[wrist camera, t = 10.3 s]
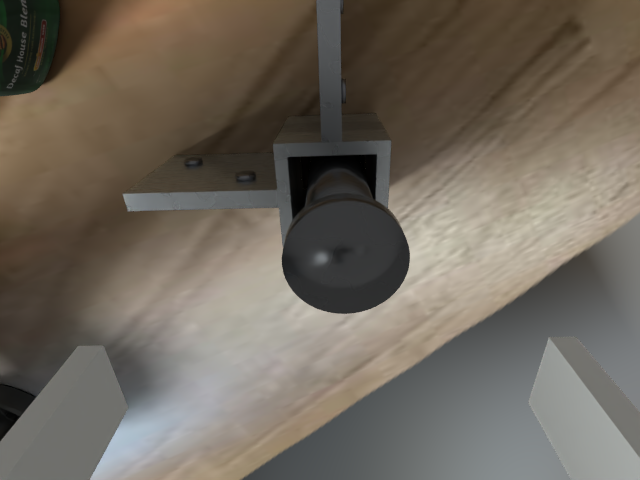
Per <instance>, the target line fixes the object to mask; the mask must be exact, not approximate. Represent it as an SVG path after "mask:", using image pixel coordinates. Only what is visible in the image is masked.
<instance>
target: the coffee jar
mask: <svg viewBox="0 0 640 480" xmlns="http://www.w3.org/2000/svg"><path fill="white" fill-rule="evenodd" d="M59 22H60V7H59V2H58V0H0V96H9V95H19V94H25V93H30V92H33V91H35V90H37V89H38V88H39V87H40V86H41V85H42V84H43V82H44V80H45V78H46V76H47V74H48V71H49V69H50V66H51V63H52V59H53V56H54V52H55V48H56V44H57V38H58V30H59Z"/></svg>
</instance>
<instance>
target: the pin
mask: <svg viewBox="0 0 640 480" xmlns="http://www.w3.org/2000/svg"><path fill="white" fill-rule="evenodd" d="M409 261H410V253H409V246H408V243H407V240H406V237H405V235H404V233H403V230H402V228H401V226H400V224H399V222H398V220H397V219H396V217H395V216H394V214H393V213H392V212H391V211H390V210H389V209H388V208H387V207H385V206H384V205H383V204H381V203H380V202H378V201H376V200H374V199H373V198H372V195H371V192H370V189H369V186H368V183H367V180H366V177H365V174H364V171H363V168H362V165H361V162H360V159H359V156H358V155H331V156H310V163H309V174H308V184H307V194H306V205H305V207H304V208H303V209H302V210H301V211H300V212H299V213H298V214H297V215H296V217H295V218H294V219H293V221H292V222H291V224H290V226H289V228H288V230H287V233H286V237H285V242H284V247H283V254H282V267H283V272H284V275H285V278H286V280H287V282H288V284H289V286H290V287H291V289H292V290H293V291H294V293H295V294H296V295H297V296H298V297H299V298H301V299H302V300H303V301H304V302H306V303H308V304H309V305H311V306H313V307H315V308H317V309H320V310H323V311H327V312H331V313H342V314H347V313H356V312H362V311H365V310H368V309H371V308H373V307H376V306H377V305H379V304H381V303H383V302H384V301H386V300H387V299H388V298H390V297H391V296H392V295H393V294H394V293H395V292H396V291H397V289H398V288H399V287H400V286H401V284H402V282H403V281H404V279H405V277H406V274H407V271H408V268H409Z"/></svg>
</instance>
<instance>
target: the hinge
mask: <svg viewBox="0 0 640 480" xmlns="http://www.w3.org/2000/svg"><path fill="white" fill-rule="evenodd" d="M316 3H317V30H318V58H319V86H320V114H321V115H314V116H288V118H287V120H286V122H285V123H284V125H283V127H282V129H281V130H280V132H279V134H278V136H277V137H276V139H275V141H274V143H273V151H274V153H244V154H211V155H177V156H173V157H172V158H170V159H169V160H168V161H166V162H165V163H164V164H162V165H161V166H160V167H158V168H157V169H156V170H154V171H153V172H152V173H150V174H149V175H147V176H146V177H145V178H143V179H142V180H141V181H139V182H138V183H137V184H135V185H134V186H133V187H131V188H130V189H129V190H127V191H126V192H125V193H123V197H124V200H125V203H126V207H127V210H128V211H152V210H194V209H236V208H278V207H279V213H280V223H281V234H282V244H283V247H284V242H285V237H286V233H287V230H288V228H289V226H290V224H291V222H292V221H293V219H294V218H295V217H296V215H297V214H298V213H299V212H300V211H301V210H302V209H303V208H304V207H305V205H306V194H307V189H303V183H302V167H301V156H331V155H365V177H366V180H367V183H368V186H369V189H370V192H371V195H372V198H373V199H374V200H376V201H378V202H380V203H381V204H383V205H384V206H385V207H387V208H388V196H389V176H390V156H391V139H390V137H389V135H388V134H387V132H386V130H385V128H384V127H383V125H382V123H381V122H380V120H379V118H378V116H377V115H376V113H372V114H343V115H342V111H341V103H346V82H345V79H341V19H340V14H343V0H316Z"/></svg>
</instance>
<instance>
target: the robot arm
mask: <svg viewBox="0 0 640 480" xmlns="http://www.w3.org/2000/svg"><path fill="white" fill-rule="evenodd" d="M528 403H529V405H530V407H531V409H532V410H533V412H534V414H535V415H536V417H537V419H538V421H539V423H540V425H541V426H542V428H543V430H544V432H545V434H546V435H547V437H548V439H549V441H550V443H551V444H552V446H553V448H554V450H555V452H556V453H557V455H558V457H559V459H560V461H561V462H562V464H563V466H564V468H565V469H566V471H567V473H568V475H569V477H570V478H571V480H640V412H639V411H638V410H637V408H636V407H635V406H634V405H633V404H632V403H631V401H630V400H629V399H628V398H627V397H626V395H625V394H624V393H623V392H622V391H621V390H620V388H619V387H618V386H617V385H616V384H615V382H614V381H613V380H612V379H611V378H610V376H609V375H608V374H607V373H606V372H605V371H604V369H603V368H602V367H601V366H600V365H599V363H598V362H597V361H596V360H595V359H594V358H593V356H592V355H591V354H590V353H589V352H588V351H587V349H586V348H585V347H584V346H583V345H582V343H581V342H580V341H579V340H578V339H577V337H549V339H548V342H547V346H546V348H545V352H544V355H543V358H542V361H541V364H540V368H539V371H538V374H537V377H536V380H535V383H534V386H533V390H532V392H531V396H530V399H529V402H528ZM127 410H128V405H127V403H126V400H125V398H124V395H123V393H122V390H121V388H120V385H119V383H118V380H117V378H116V375H115V373H114V370H113V368H112V365H111V363H110V360H109V358H108V356H107V353H106V351H105V348H104V346H103V345H91V346H78V347H77V348H76V349H75V351H74V352H73V353H72V354H71V355H70V357H69V358H68V359H67V360H66V362H65V363H64V364H63V365H62V366H61V368H60V369H59V370H58V371H57V373H56V374H55V375H54V376H53V377H52V379H51V380H50V381H49V382H48V384H47V385H46V386H45V387H44V388H43V390H42V391H41V392H40V393H39V395H38V396H37V397H36V398H35V397H33V396H31V395H29V394H27V393H25V392H23V391H20V390H17V389H15V388H12V387H8V386H4V385H0V480H90V478H91V476H92V474H93V472H94V471H95V469H96V467H97V465H98V463H99V461H100V459H101V458H102V456H103V454H104V452H105V450H106V448H107V447H108V445H109V443H110V441H111V439H112V437H113V435H114V434H115V432H116V430H117V428H118V426H119V424H120V422H121V421H122V419H123V417H124V415H125V413H126V411H127Z"/></svg>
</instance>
